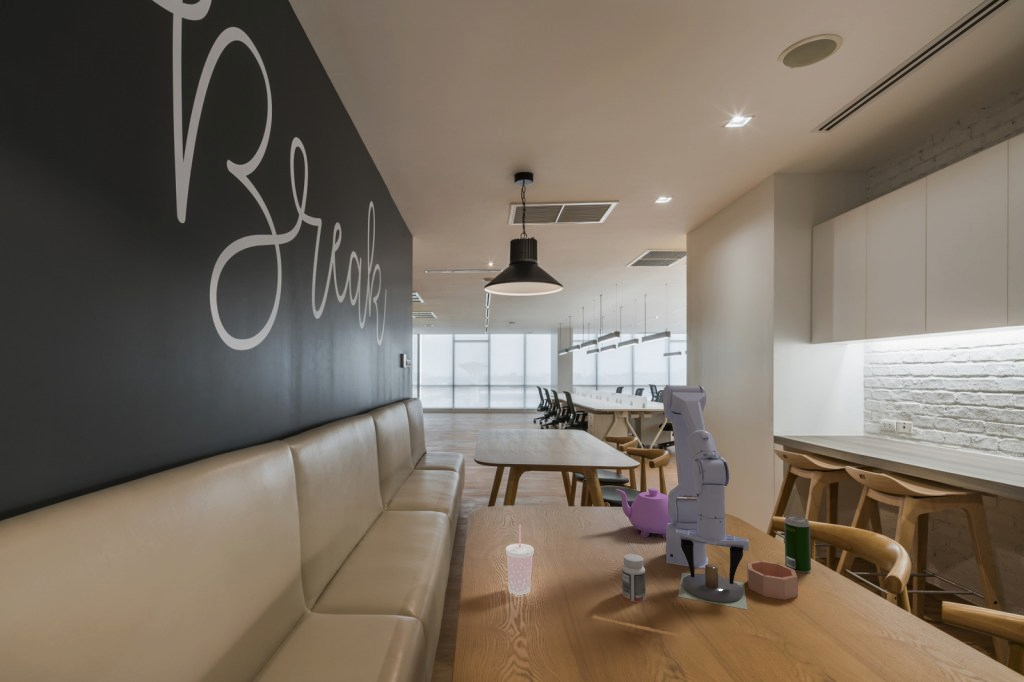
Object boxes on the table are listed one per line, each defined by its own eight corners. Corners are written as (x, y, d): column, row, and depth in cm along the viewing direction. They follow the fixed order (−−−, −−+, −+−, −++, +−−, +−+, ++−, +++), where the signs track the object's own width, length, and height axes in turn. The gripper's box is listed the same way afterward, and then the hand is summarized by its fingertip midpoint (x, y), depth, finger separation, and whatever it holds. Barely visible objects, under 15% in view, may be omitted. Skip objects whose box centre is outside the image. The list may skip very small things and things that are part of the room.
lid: (680, 596, 100) (680, 572, 100) (684, 573, 111) (683, 552, 111) (744, 607, 95) (743, 583, 95) (741, 583, 106) (740, 560, 106)
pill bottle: (646, 595, 101) (646, 554, 101) (644, 605, 96) (644, 563, 97) (623, 591, 102) (623, 551, 103) (621, 601, 98) (620, 559, 99)
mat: (678, 598, 99) (678, 596, 99) (682, 574, 111) (682, 572, 111) (747, 612, 94) (747, 609, 94) (743, 585, 106) (743, 582, 106)
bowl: (749, 595, 101) (749, 574, 101) (746, 578, 110) (746, 558, 110) (800, 604, 97) (799, 582, 98) (793, 585, 106) (792, 565, 106)
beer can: (804, 576, 111) (803, 524, 112) (780, 568, 115) (779, 518, 116) (815, 571, 114) (814, 520, 115) (792, 563, 118) (791, 514, 119)
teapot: (618, 538, 135) (618, 493, 136) (613, 522, 149) (613, 482, 150) (691, 542, 132) (691, 496, 133) (679, 525, 146) (679, 484, 147)
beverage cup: (512, 582, 106) (513, 518, 107) (538, 588, 103) (538, 522, 104) (500, 594, 101) (500, 526, 102) (526, 600, 98) (527, 531, 99)
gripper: (674, 515, 103) (675, 580, 102) (749, 524, 97) (750, 593, 96) (676, 507, 109) (677, 567, 109) (747, 515, 104) (748, 579, 103)
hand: (711, 578), depth 103 cm, fingers open, 7 cm apart
